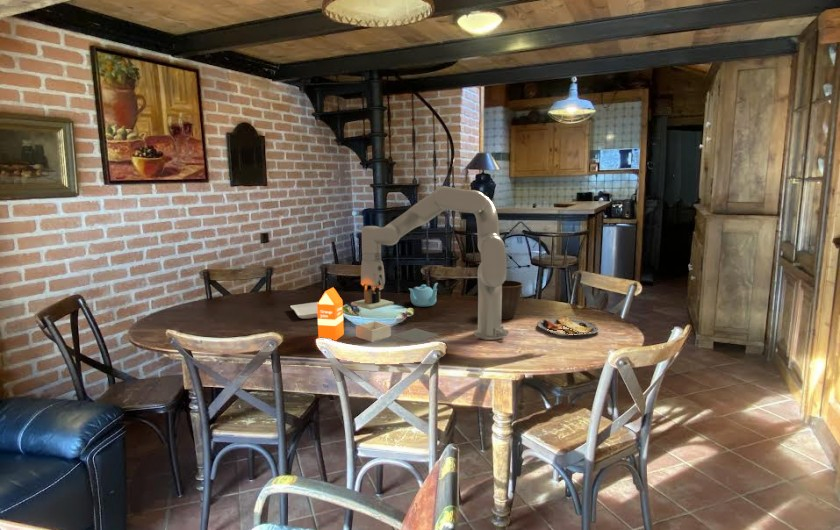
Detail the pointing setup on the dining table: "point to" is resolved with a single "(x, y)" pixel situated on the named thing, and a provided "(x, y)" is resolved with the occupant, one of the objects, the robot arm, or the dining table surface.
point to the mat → (415, 335)
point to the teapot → (423, 295)
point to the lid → (368, 301)
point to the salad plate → (306, 310)
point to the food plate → (567, 325)
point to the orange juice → (330, 315)
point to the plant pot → (510, 298)
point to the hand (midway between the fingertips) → (372, 301)
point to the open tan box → (373, 331)
